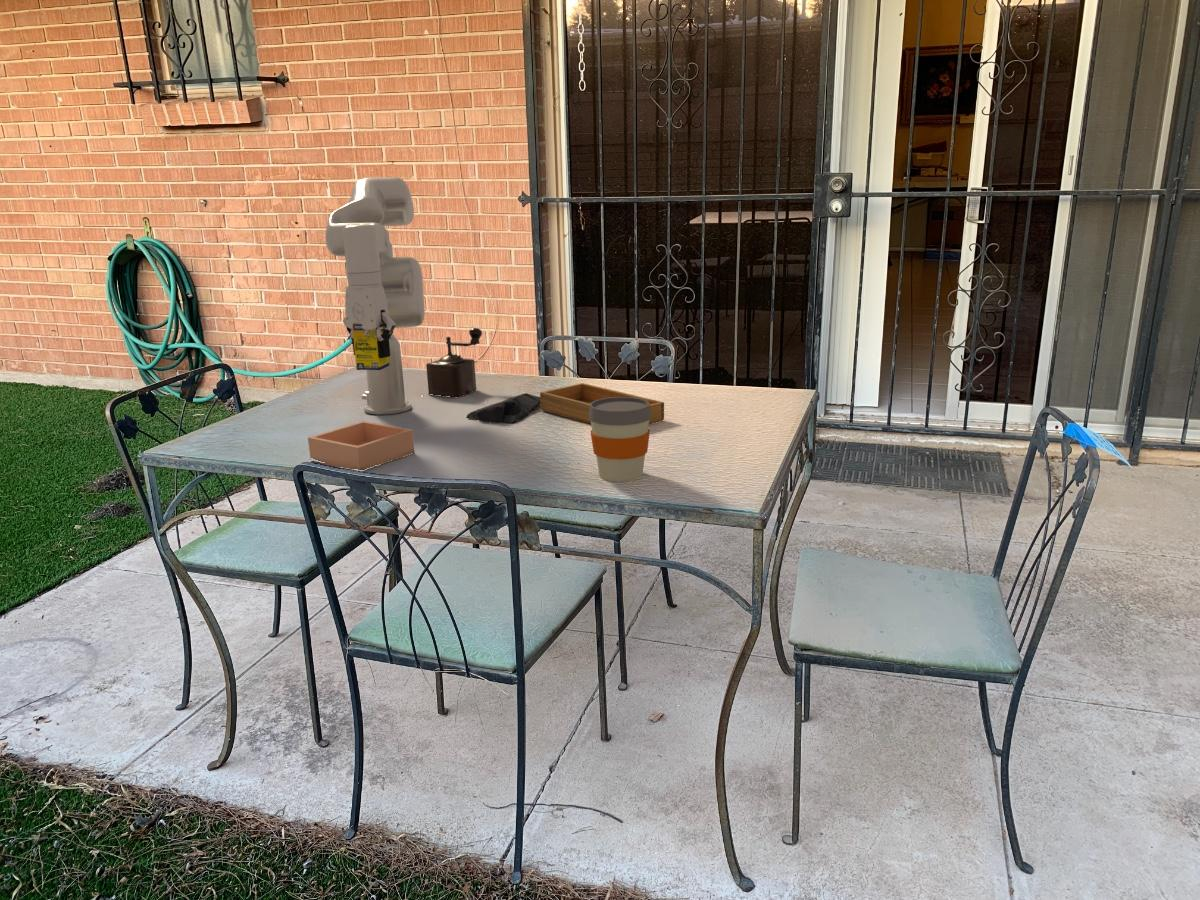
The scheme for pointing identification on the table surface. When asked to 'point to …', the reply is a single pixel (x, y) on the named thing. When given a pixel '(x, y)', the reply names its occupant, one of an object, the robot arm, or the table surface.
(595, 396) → the tray
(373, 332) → the supplement box
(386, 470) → the table surface
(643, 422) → the reusable coffee cup
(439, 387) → the manual coffee grinder
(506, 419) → the dark slate chunk
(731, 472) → the table surface
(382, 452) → the planter box
